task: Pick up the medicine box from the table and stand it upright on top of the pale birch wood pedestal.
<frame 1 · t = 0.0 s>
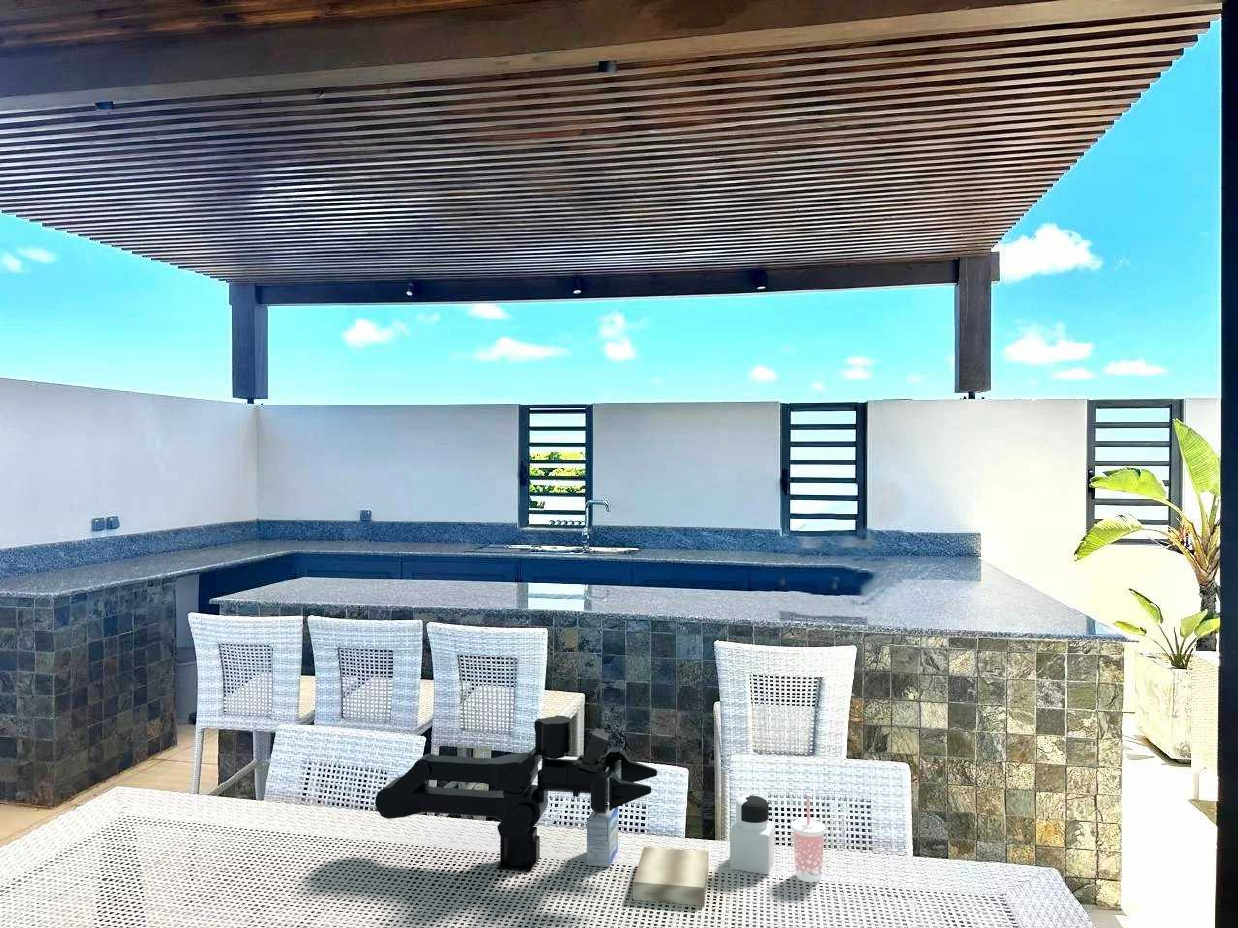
hand: (654, 780, 145), 17 cm above the table, tool horizontal, fingers open, 9 cm apart
medicine bottle: (752, 865, 148), on the table
medicine box: (602, 858, 151), on the table
wood pedestal: (672, 883, 141), on the table
beverage cup: (808, 877, 144), on the table
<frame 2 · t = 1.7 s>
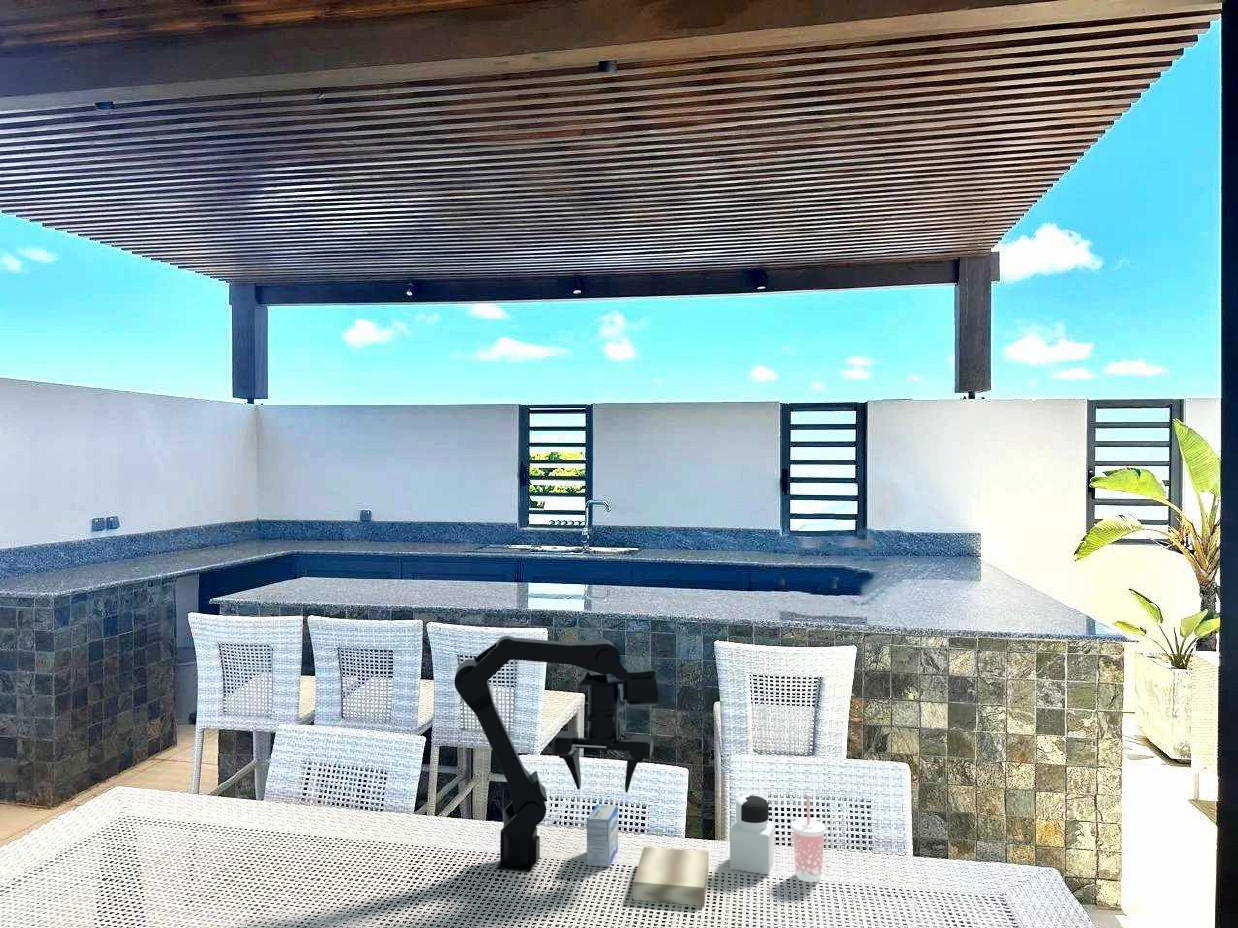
hand: (602, 790, 152), 13 cm above the table, tool pointing down, fingers open, 9 cm apart
nothing on the table moved.
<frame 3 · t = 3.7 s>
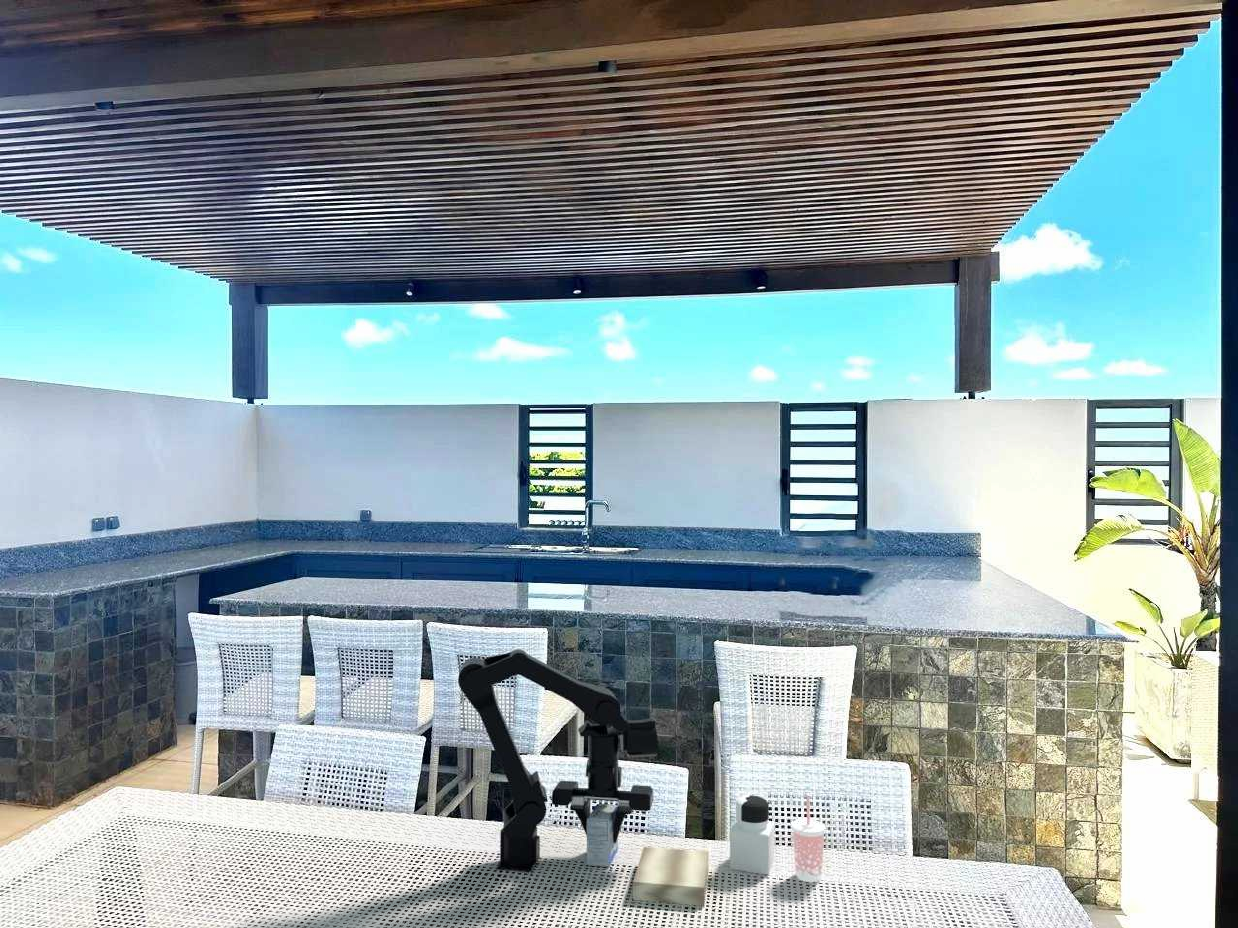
hand: (602, 841, 151), 3 cm above the table, tool pointing down, fingers closed on medicine box, 4 cm apart
medicine box: (602, 858, 151), on the table, touching gripper
everything else where it was.
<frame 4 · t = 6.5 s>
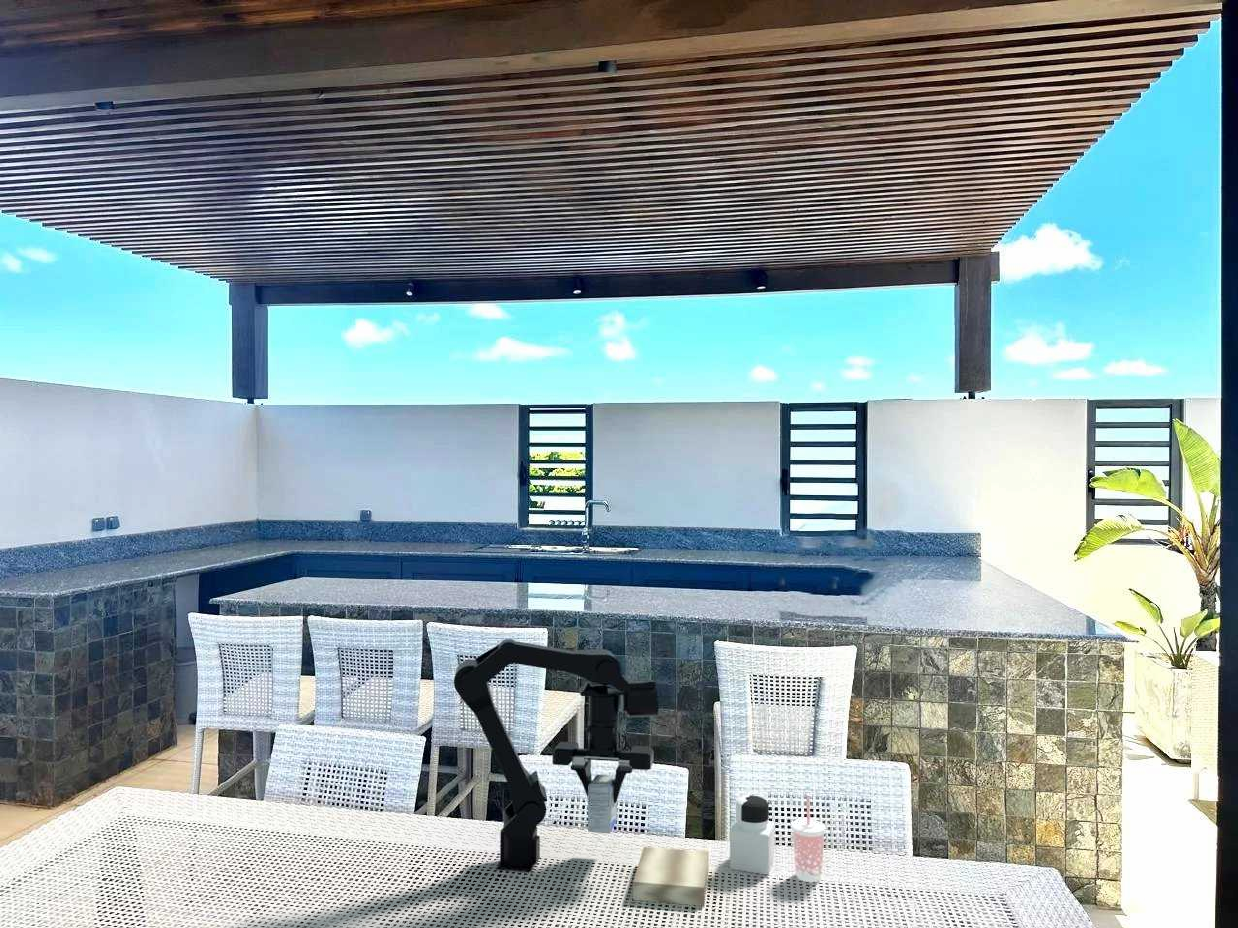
hand: (603, 801, 152), 10 cm above the table, tool pointing down, fingers closed on medicine box, 4 cm apart
medicine box: (602, 827, 151), point 6 cm above the table, touching gripper
everything else where it was.
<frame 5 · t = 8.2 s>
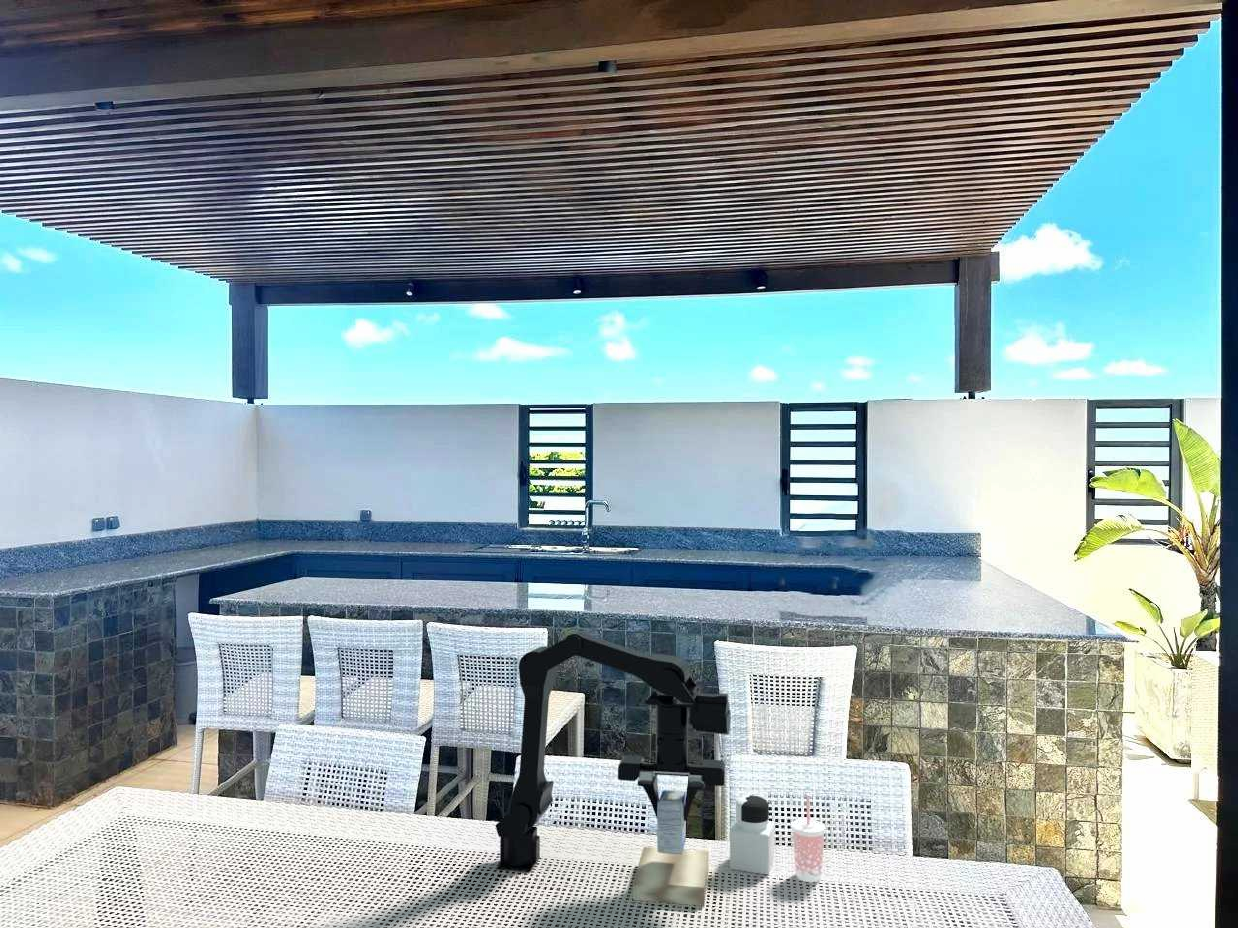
hand: (671, 819, 142), 11 cm above the table, tool pointing down, fingers closed on medicine box, 4 cm apart
medicine box: (671, 847, 141), point 6 cm above the table, touching gripper
everything else where it was.
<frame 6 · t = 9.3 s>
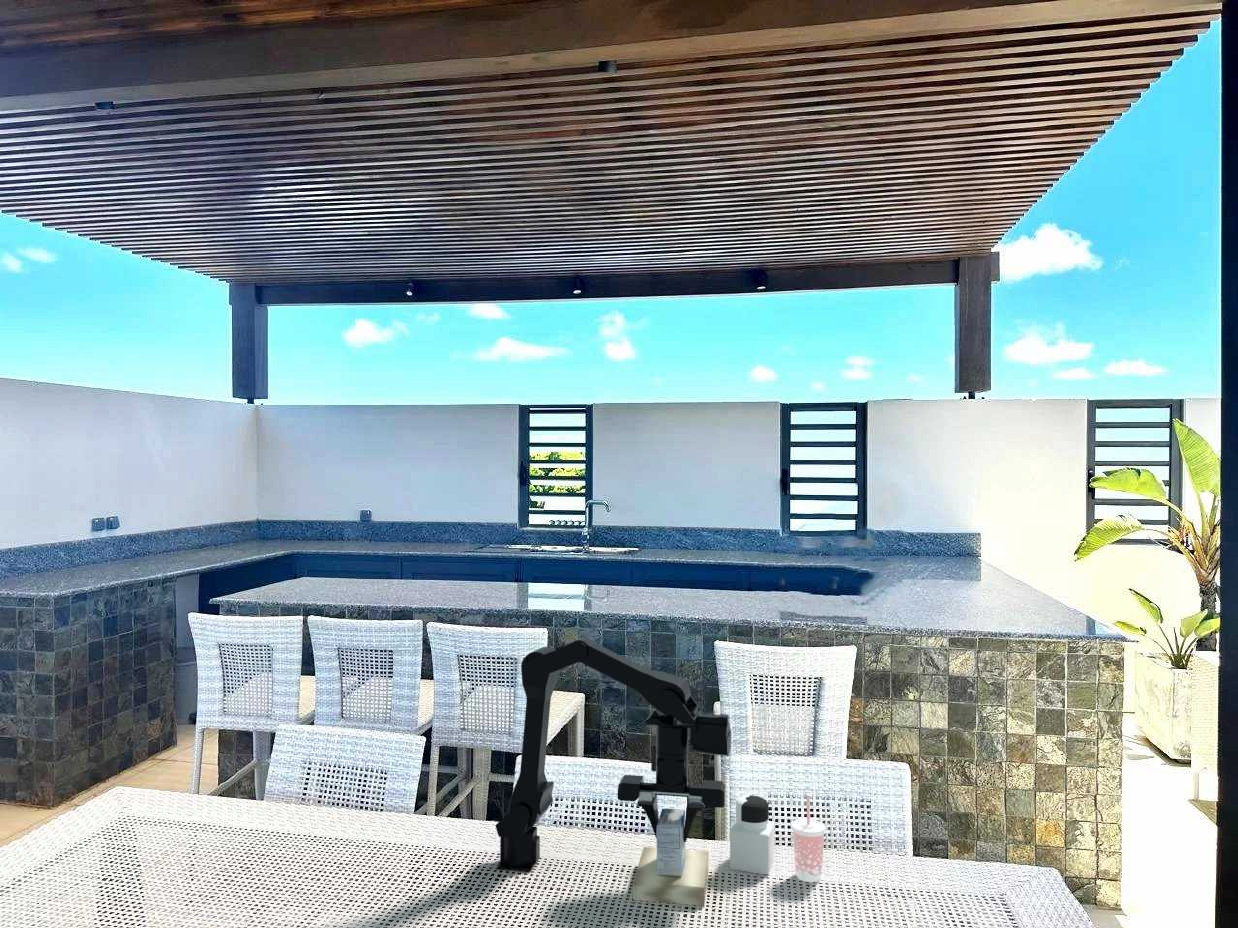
hand: (671, 839, 141), 8 cm above the table, tool pointing down, fingers closed on medicine box, 4 cm apart
medicine box: (671, 867, 141), point 3 cm above the table, touching gripper, wood pedestal
everything else where it was.
when the fingers open (8 cm above the table, at t = 10.1 s): medicine box stays where it is, resting on wood pedestal.
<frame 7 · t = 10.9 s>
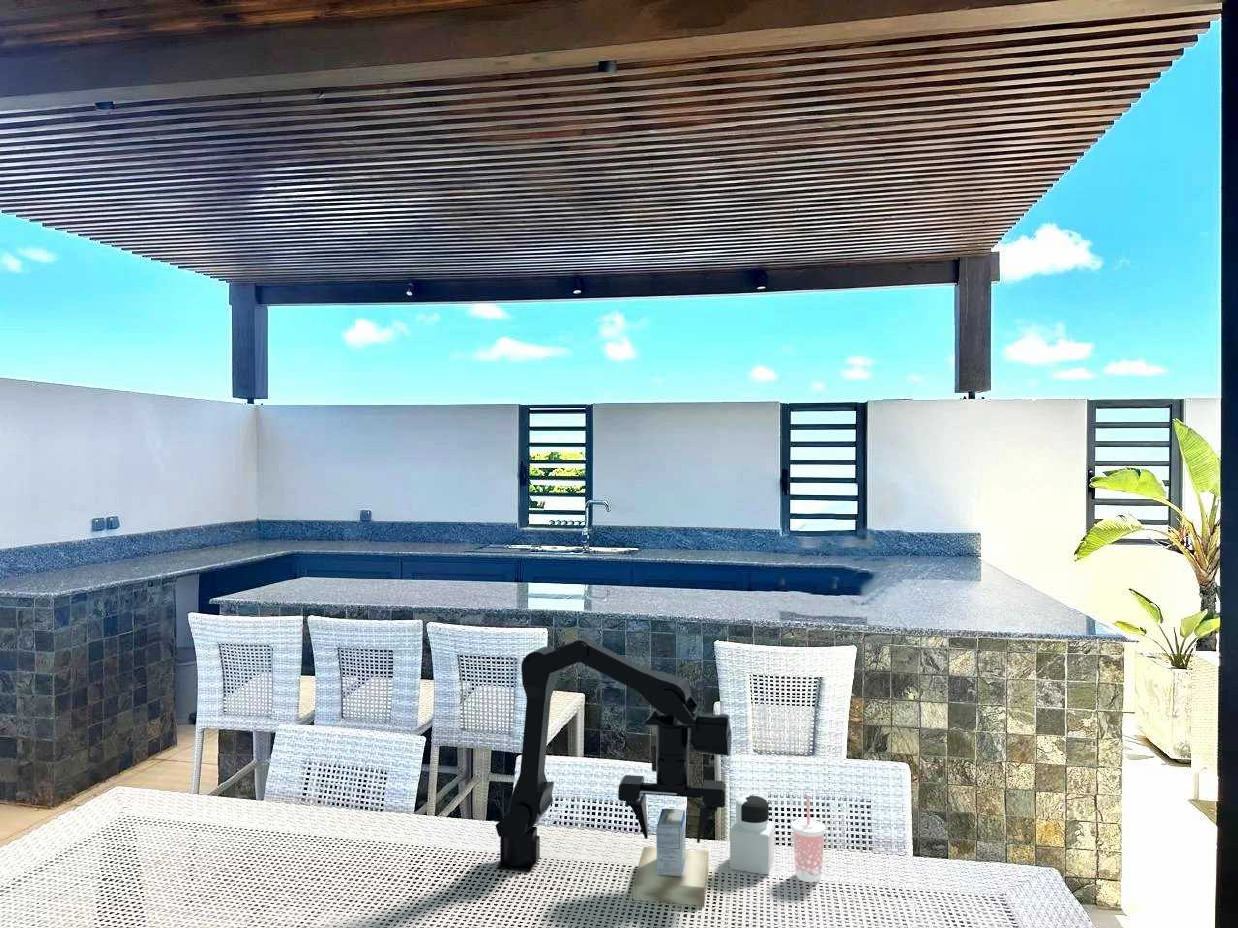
hand: (672, 839, 141), 8 cm above the table, tool pointing down, fingers open, 9 cm apart
medicine box: (671, 867, 141), point 3 cm above the table, touching wood pedestal
everything else where it was.
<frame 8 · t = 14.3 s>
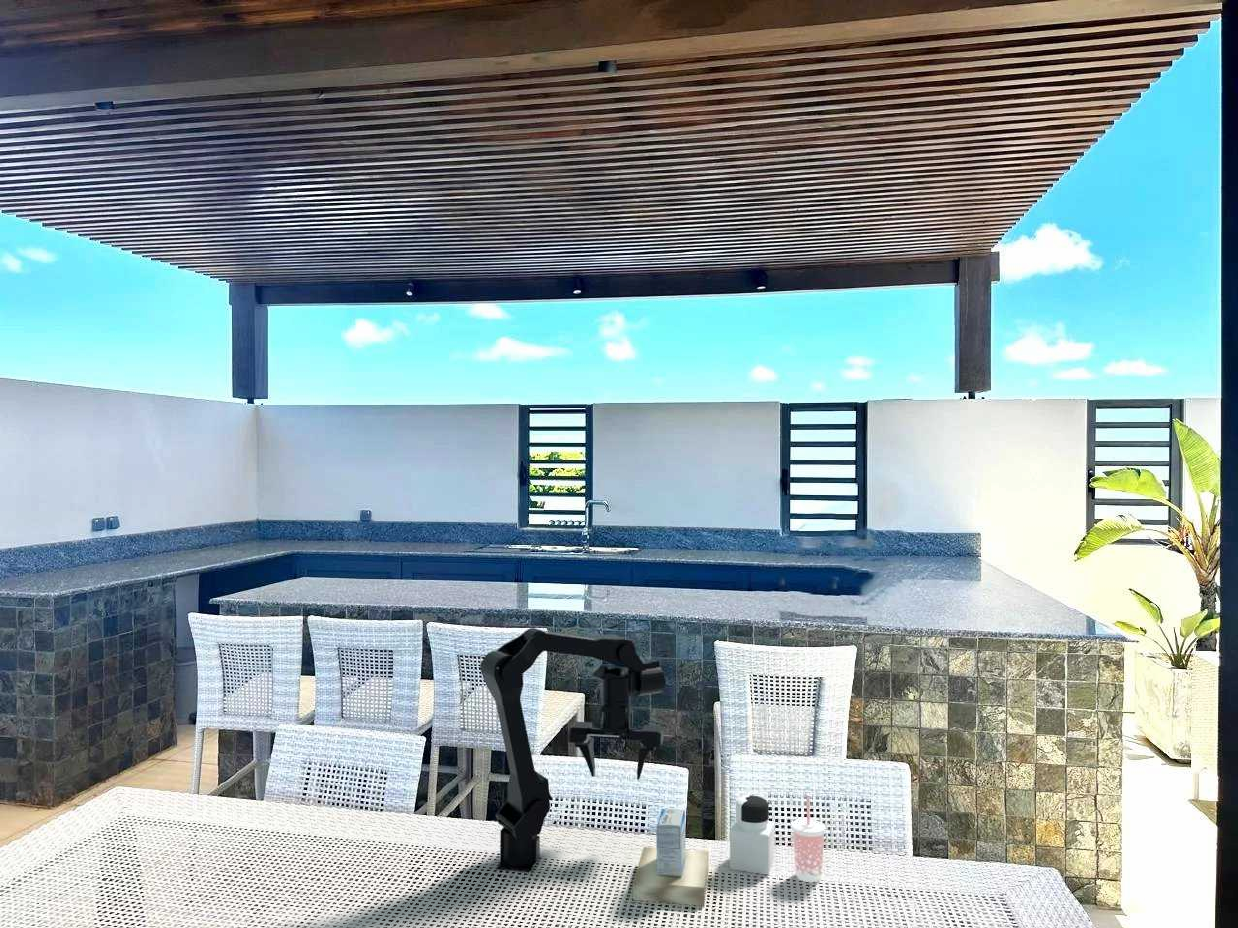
hand: (615, 777, 160), 12 cm above the table, tool pointing down, fingers open, 9 cm apart
nothing on the table moved.
at the end: medicine box inside the target area on the wood pedestal (0.4 cm from its centre), point 2.8 cm above the wood pedestal's base; medicine box tilted 0°; the gripper is holding nothing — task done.
